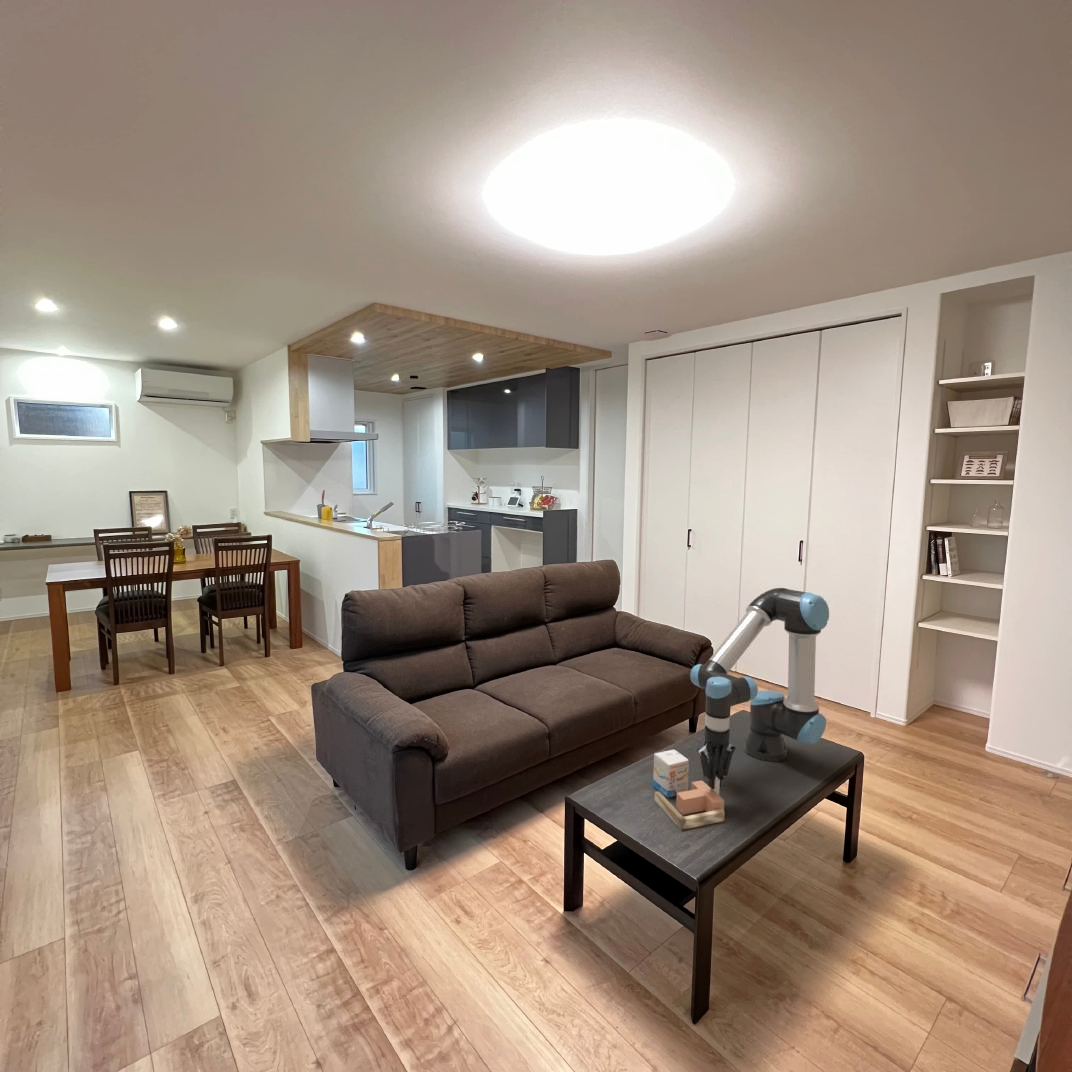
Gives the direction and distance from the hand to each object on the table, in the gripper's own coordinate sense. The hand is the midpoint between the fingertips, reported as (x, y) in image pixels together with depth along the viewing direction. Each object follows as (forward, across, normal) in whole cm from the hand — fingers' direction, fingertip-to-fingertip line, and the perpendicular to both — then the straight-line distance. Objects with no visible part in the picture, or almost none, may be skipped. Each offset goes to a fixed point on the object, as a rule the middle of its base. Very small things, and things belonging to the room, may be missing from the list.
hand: (714, 797), depth 183 cm
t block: (+3, +7, 0) cm, 7 cm away
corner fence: (+3, +10, 0) cm, 10 cm away
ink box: (+3, +9, -12) cm, 15 cm away
